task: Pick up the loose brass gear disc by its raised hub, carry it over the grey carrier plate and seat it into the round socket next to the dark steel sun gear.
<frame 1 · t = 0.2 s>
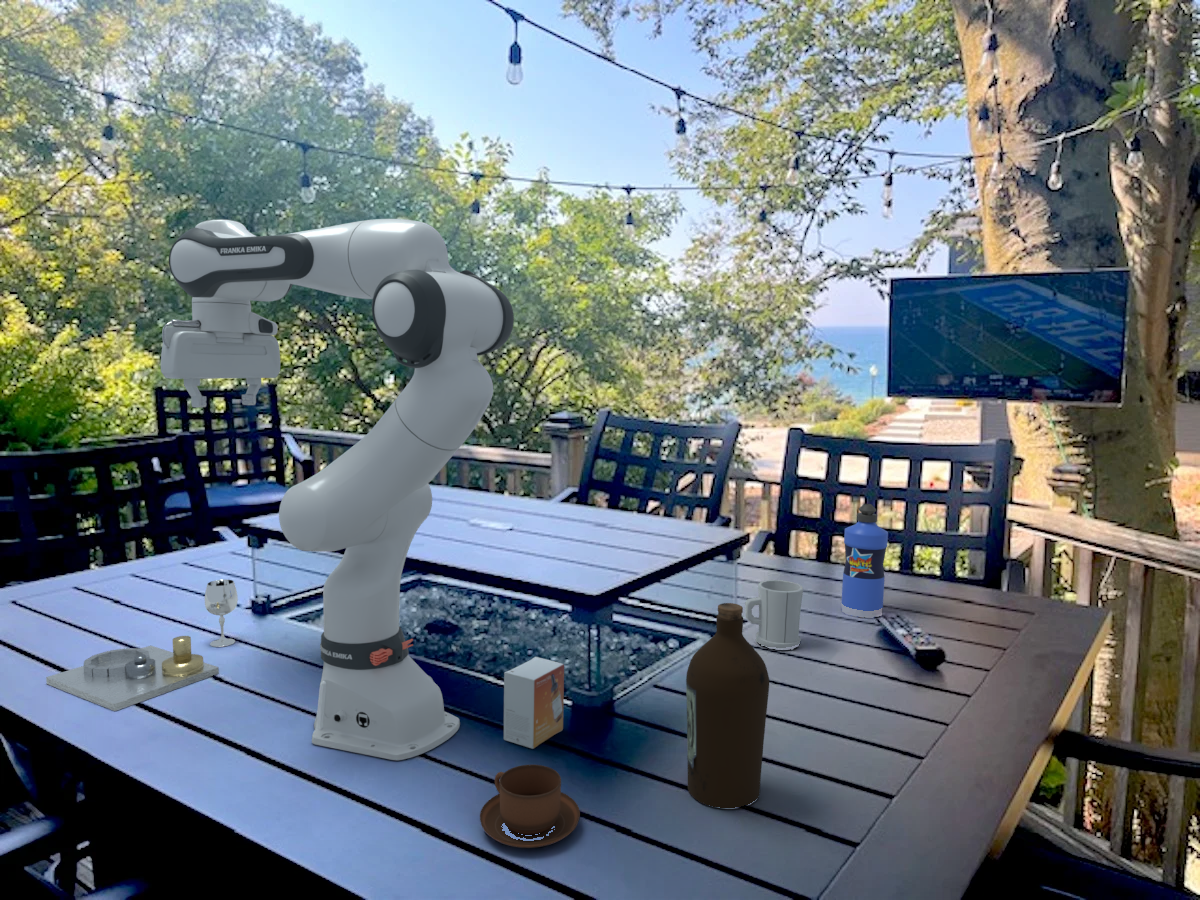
hand: (224, 406, 134), 47 cm above the table, tool pointing down, fingers open, 8 cm apart
wineglass: (222, 643, 156), on the table
water bottle: (861, 613, 184), on the table
small box: (533, 736, 120), on the table
carrier: (134, 678, 138), on the table
cup and saucer: (529, 829, 97), on the table
cup: (775, 645, 161), on the table
olive oil: (722, 791, 106), on the table
planet gear: (183, 669, 139), point 1 cm above the table, touching carrier
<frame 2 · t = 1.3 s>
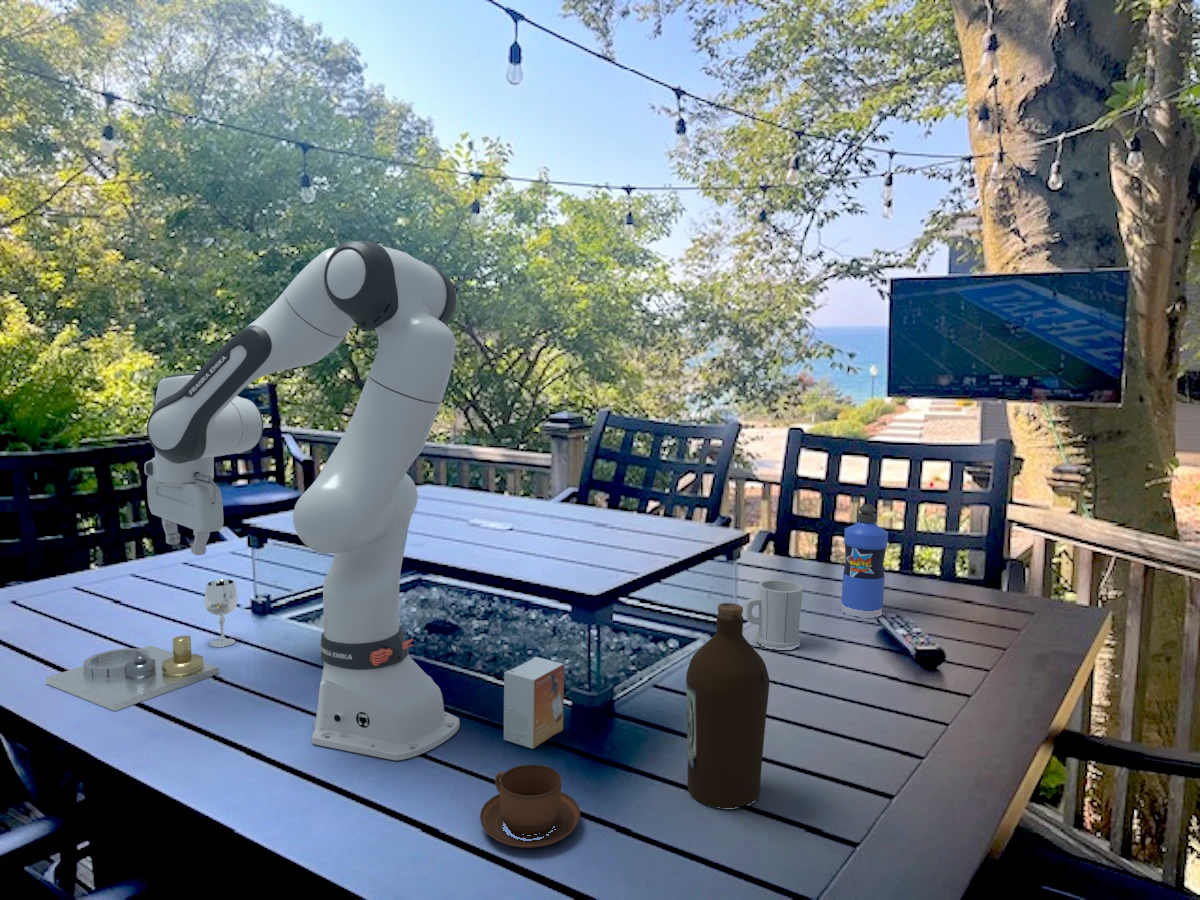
hand: (185, 548, 137), 23 cm above the table, tool pointing down, fingers open, 8 cm apart
nothing on the table moved.
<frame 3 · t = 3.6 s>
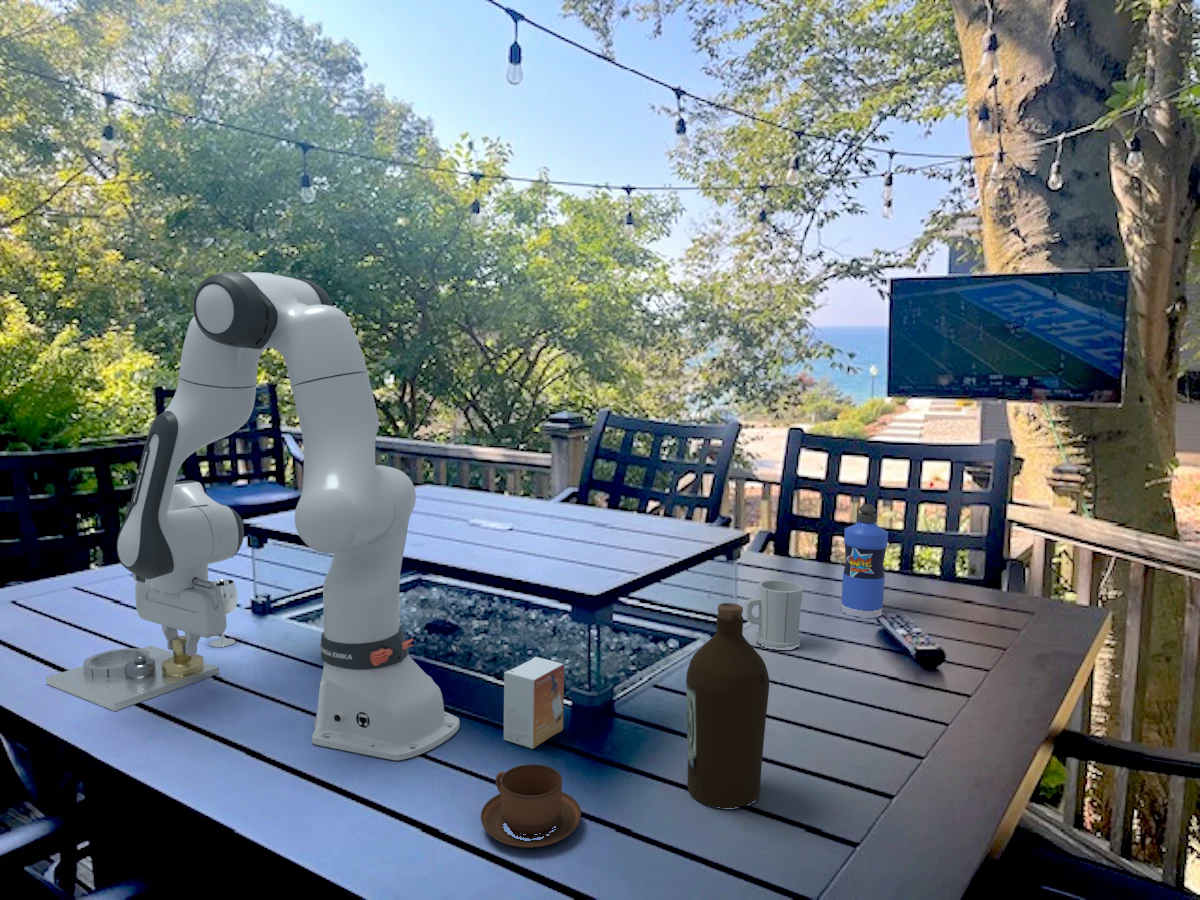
hand: (182, 651, 139), 4 cm above the table, tool pointing down, fingers closed on planet gear, 3 cm apart
planet gear: (183, 669, 139), point 1 cm above the table, touching carrier, gripper
everything else where it was.
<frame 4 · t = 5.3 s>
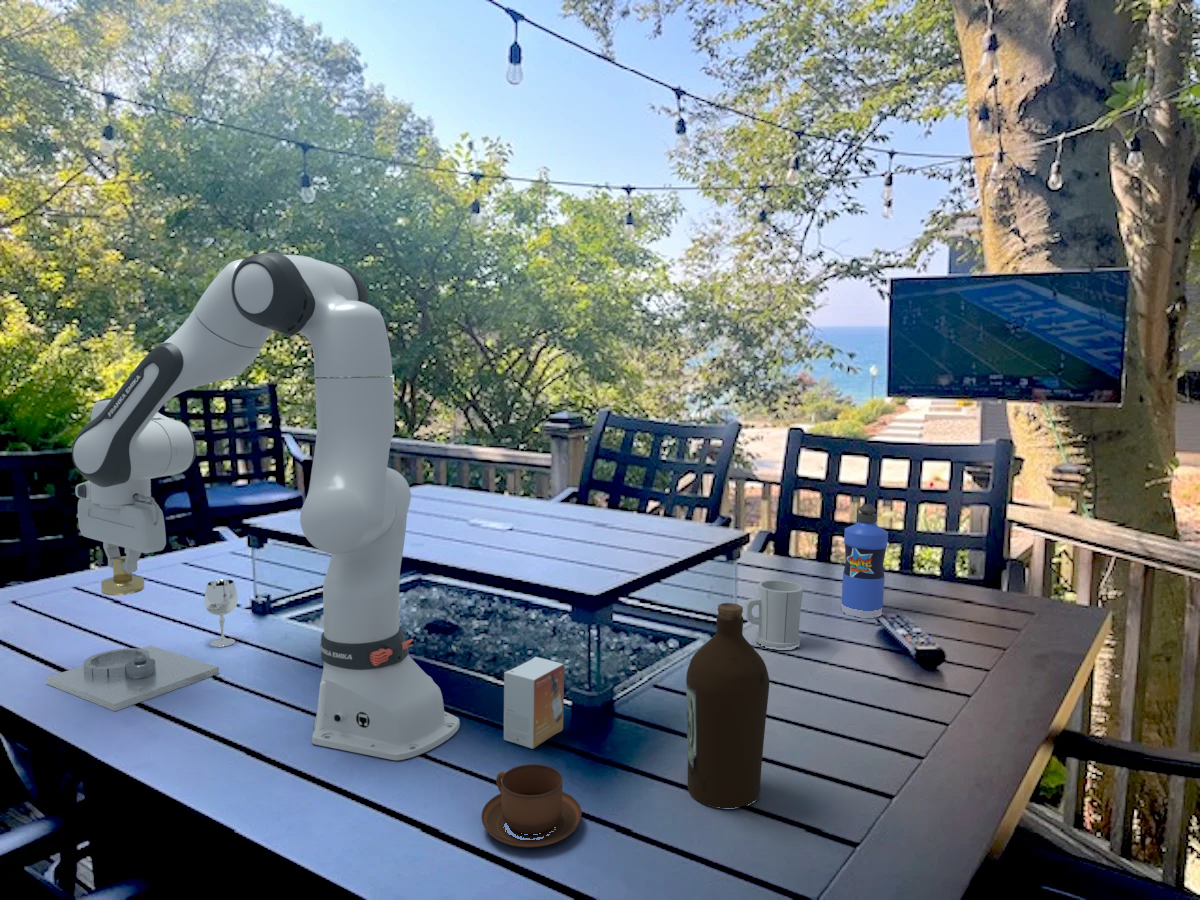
hand: (122, 569, 139), 18 cm above the table, tool pointing down, fingers closed on planet gear, 3 cm apart
planet gear: (123, 589, 139), point 15 cm above the table, touching gripper
everything else where it was.
when the fingers open (5 cm above the table, at t = 7.1 s): planet gear stays where it is, resting on carrier.
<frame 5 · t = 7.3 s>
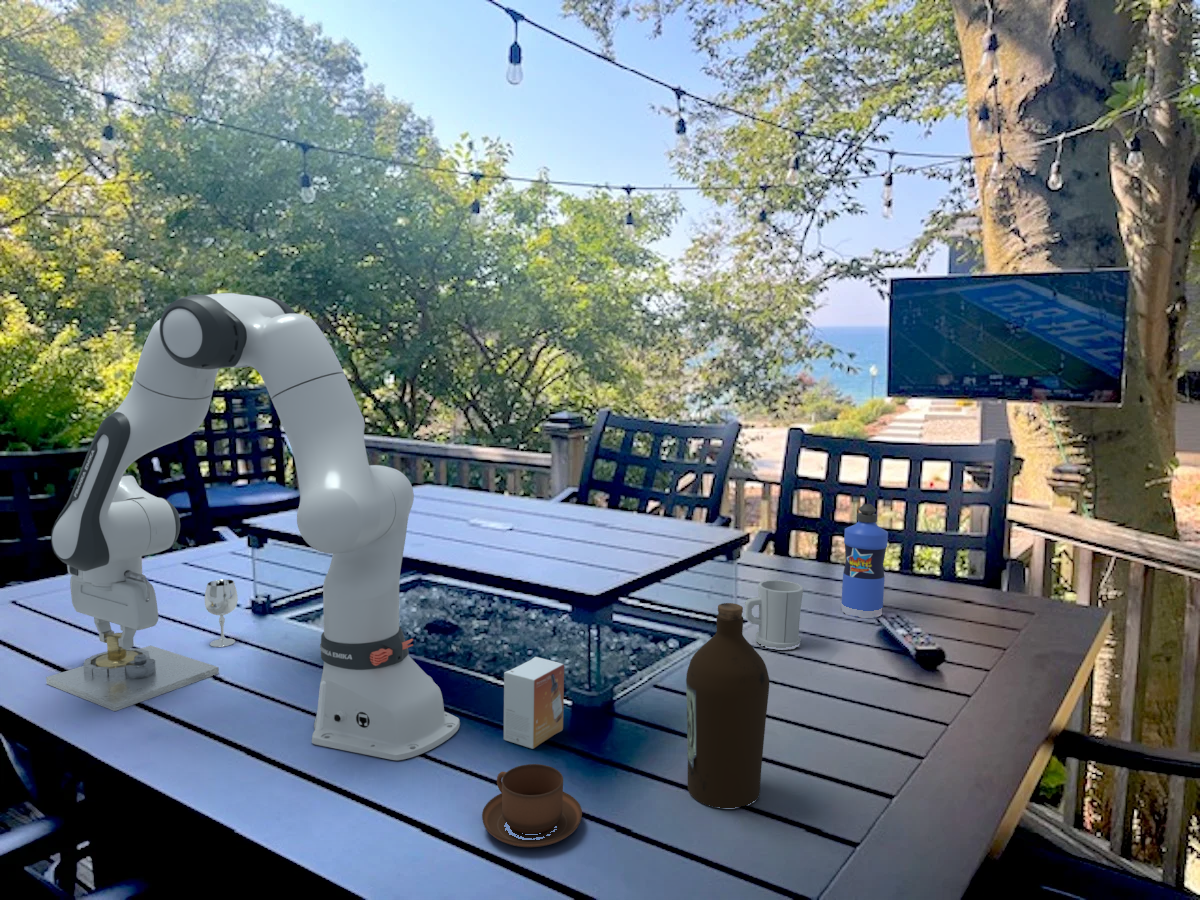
hand: (116, 644, 140), 5 cm above the table, tool pointing down, fingers open, 4 cm apart
planet gear: (117, 666, 140), point 1 cm above the table, touching carrier
everything else where it was.
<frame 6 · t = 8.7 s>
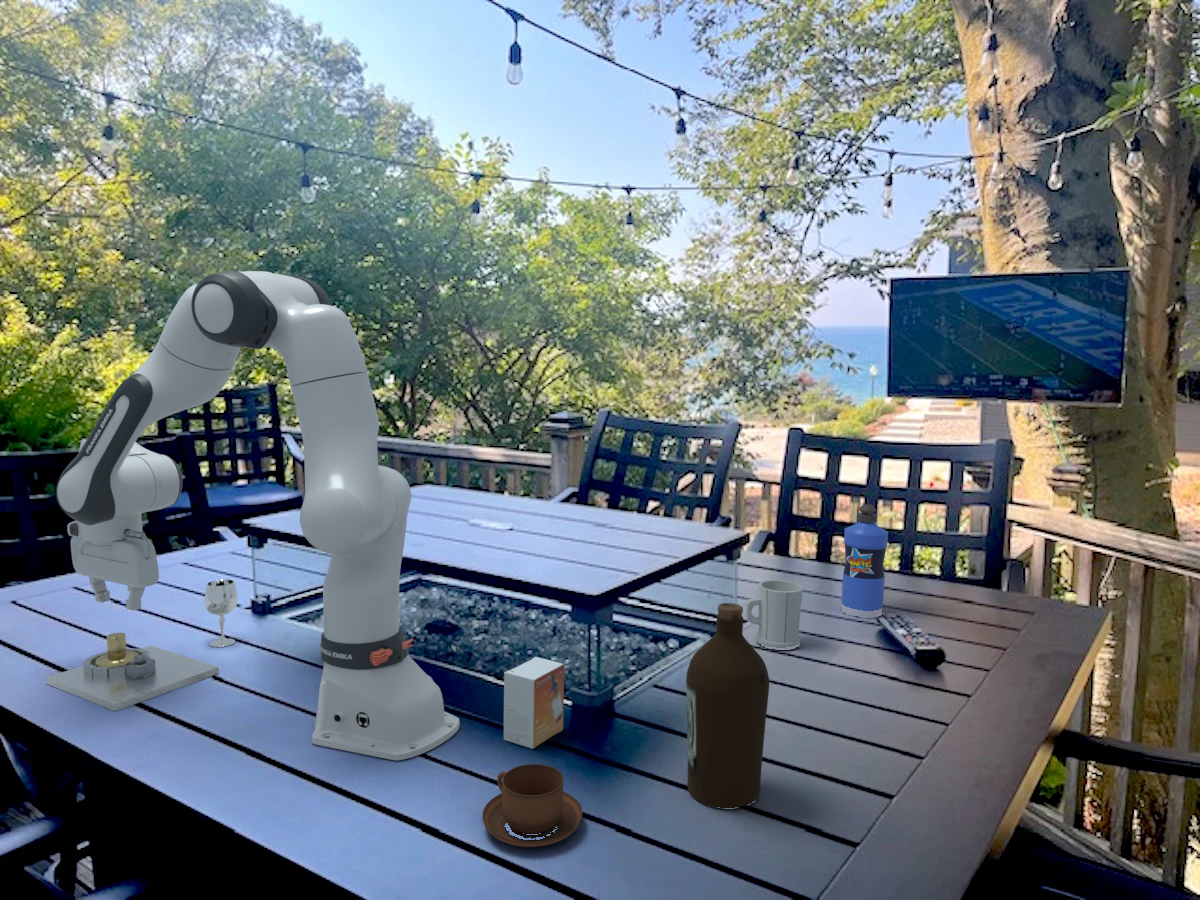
hand: (118, 605, 139), 12 cm above the table, tool pointing down, fingers open, 8 cm apart
nothing on the table moved.
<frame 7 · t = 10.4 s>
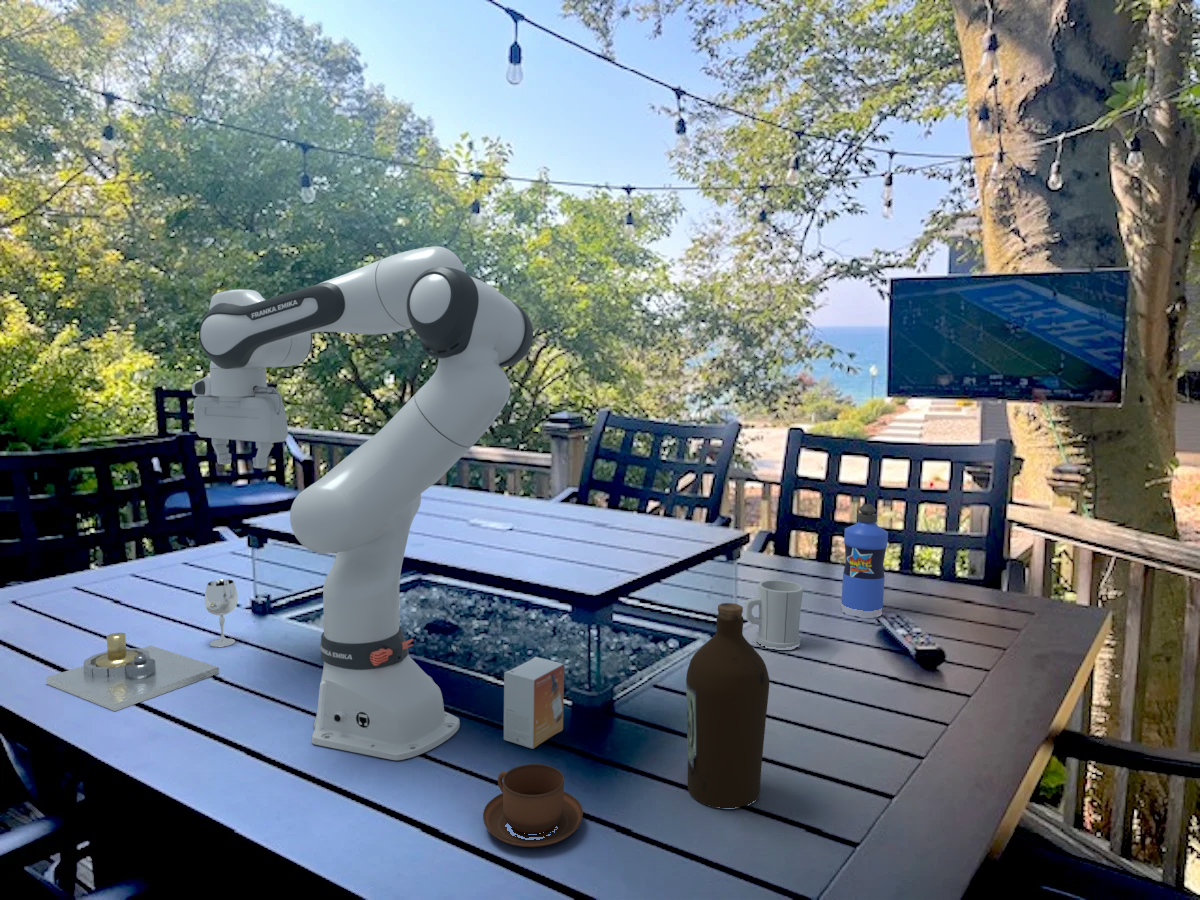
hand: (242, 465, 139), 37 cm above the table, tool pointing down, fingers open, 8 cm apart
nothing on the table moved.
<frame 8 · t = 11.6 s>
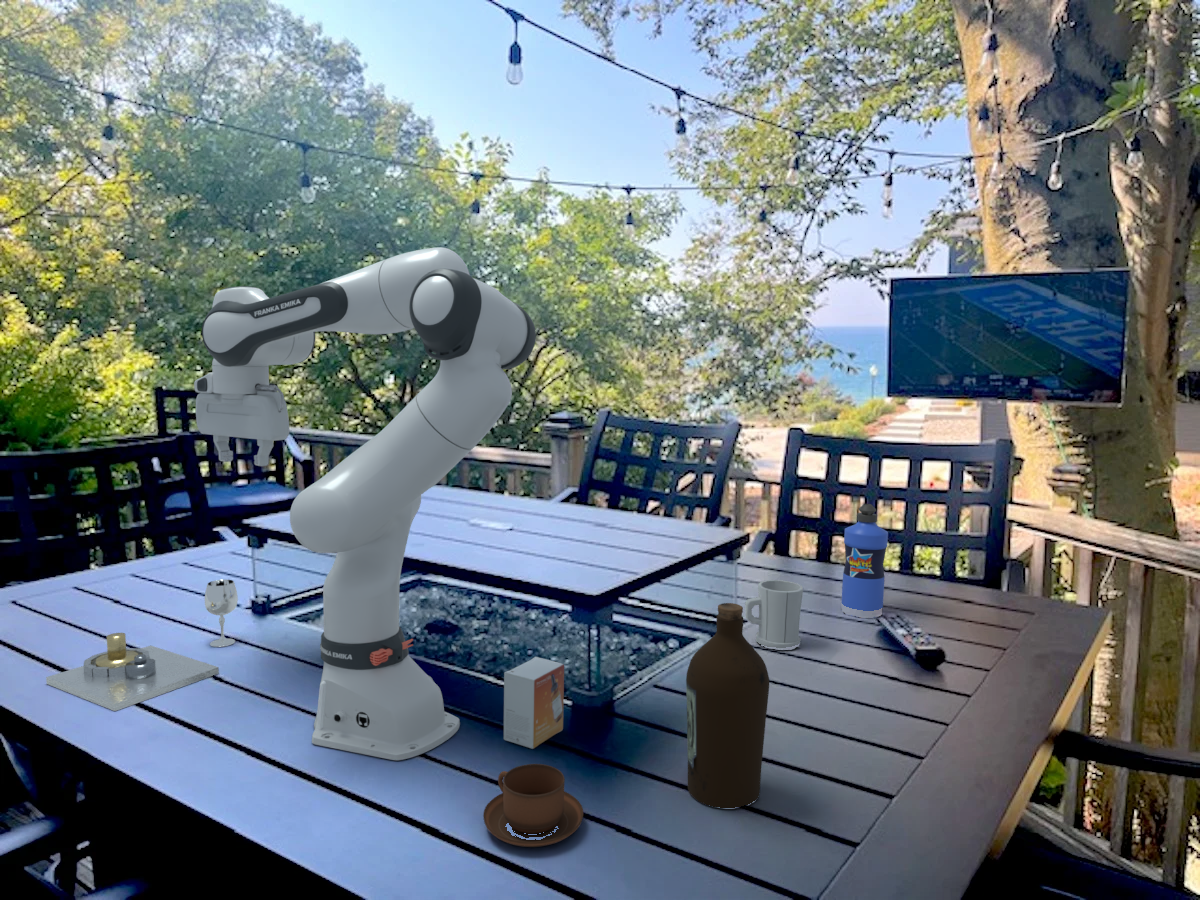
hand: (243, 463, 139), 37 cm above the table, tool pointing down, fingers open, 8 cm apart
nothing on the table moved.
at the end: planet gear 0.1 cm from the target spot on the carrier, point 1.2 cm above the carrier's base; planet gear tilted 0°; the gripper is holding nothing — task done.
